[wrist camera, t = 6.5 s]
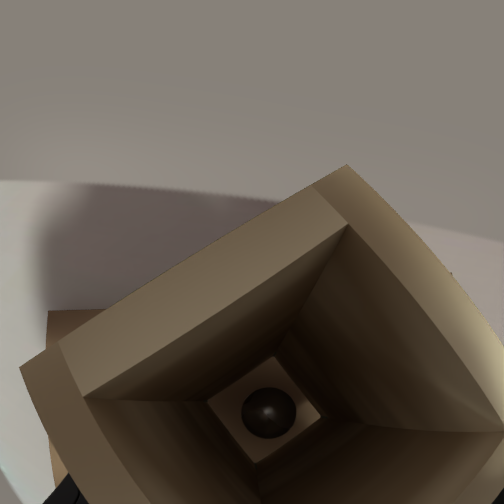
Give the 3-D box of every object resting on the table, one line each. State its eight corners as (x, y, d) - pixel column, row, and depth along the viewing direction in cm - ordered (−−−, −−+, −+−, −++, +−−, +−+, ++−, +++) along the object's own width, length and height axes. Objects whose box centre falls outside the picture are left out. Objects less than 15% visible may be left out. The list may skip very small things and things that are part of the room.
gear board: (471, 439, 13) (483, 439, 12) (66, 491, 11) (56, 494, 10) (442, 279, 18) (451, 272, 17) (58, 316, 16) (48, 310, 15)
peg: (282, 423, 13) (299, 434, 9) (244, 427, 13) (244, 441, 9) (278, 388, 14) (292, 384, 10) (240, 392, 14) (238, 390, 10)
